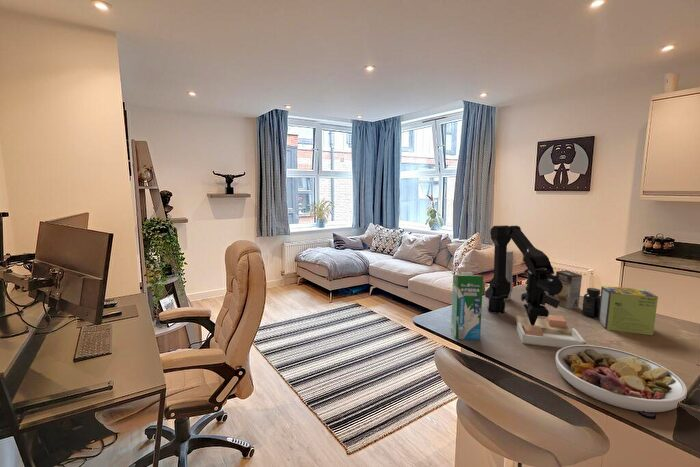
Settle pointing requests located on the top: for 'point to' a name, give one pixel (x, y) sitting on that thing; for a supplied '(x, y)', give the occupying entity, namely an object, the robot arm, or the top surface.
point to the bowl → (620, 378)
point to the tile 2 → (556, 321)
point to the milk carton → (467, 306)
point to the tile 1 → (532, 330)
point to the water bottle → (509, 270)
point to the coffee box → (569, 289)
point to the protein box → (627, 310)
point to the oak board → (544, 326)
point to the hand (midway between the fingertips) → (532, 325)
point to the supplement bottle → (591, 303)
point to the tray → (551, 338)
